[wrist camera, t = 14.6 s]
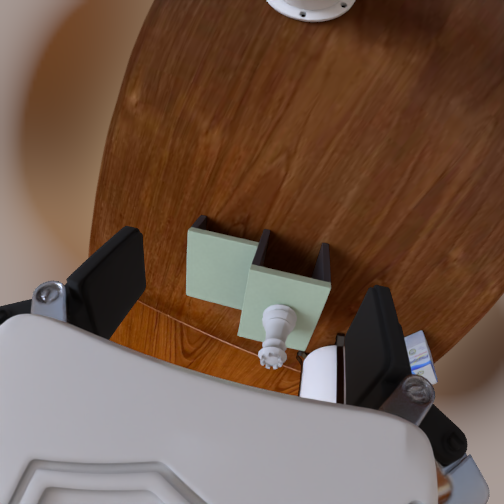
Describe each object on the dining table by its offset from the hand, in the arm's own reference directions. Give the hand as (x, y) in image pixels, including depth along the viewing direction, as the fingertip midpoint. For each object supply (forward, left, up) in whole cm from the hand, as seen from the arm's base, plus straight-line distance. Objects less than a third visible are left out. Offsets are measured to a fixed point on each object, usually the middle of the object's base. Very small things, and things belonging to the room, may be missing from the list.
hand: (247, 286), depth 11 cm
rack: (+19, -2, -30) cm, 36 cm away
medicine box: (+30, +33, -31) cm, 54 cm away
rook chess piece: (+19, +3, -20) cm, 27 cm away
